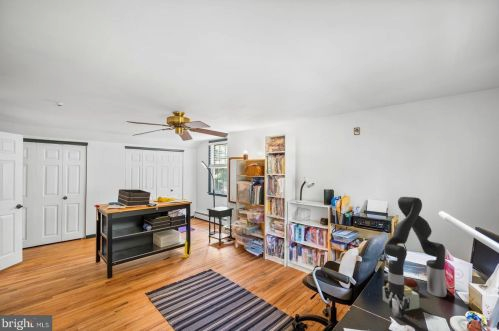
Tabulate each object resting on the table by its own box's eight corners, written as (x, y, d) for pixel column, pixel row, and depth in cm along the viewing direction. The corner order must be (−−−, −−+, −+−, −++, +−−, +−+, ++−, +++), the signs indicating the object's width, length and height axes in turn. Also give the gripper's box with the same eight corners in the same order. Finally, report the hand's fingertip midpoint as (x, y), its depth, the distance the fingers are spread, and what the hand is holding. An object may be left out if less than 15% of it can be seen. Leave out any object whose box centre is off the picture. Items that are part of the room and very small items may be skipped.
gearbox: (396, 294, 141) (395, 278, 142) (419, 307, 127) (418, 289, 127) (378, 297, 138) (378, 280, 138) (400, 311, 123) (399, 292, 124)
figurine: (379, 276, 150) (400, 270, 156) (380, 288, 150) (401, 282, 156) (400, 287, 136) (422, 280, 142) (400, 301, 136) (423, 294, 142)
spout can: (396, 312, 123) (396, 293, 123) (404, 317, 118) (403, 297, 119) (390, 313, 122) (389, 294, 122) (397, 318, 117) (397, 298, 118)
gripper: (414, 286, 115) (415, 318, 114) (390, 274, 129) (390, 303, 128) (403, 288, 113) (404, 321, 112) (379, 275, 127) (380, 305, 126)
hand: (397, 311), depth 120 cm, fingers open, 6 cm apart
